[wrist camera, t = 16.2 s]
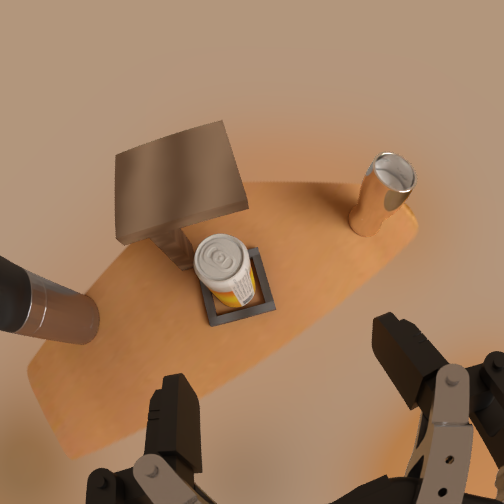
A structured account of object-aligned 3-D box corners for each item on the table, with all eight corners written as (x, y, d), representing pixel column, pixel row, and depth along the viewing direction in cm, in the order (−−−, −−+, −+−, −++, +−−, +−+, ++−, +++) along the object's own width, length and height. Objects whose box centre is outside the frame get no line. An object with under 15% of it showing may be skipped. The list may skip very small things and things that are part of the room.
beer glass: (358, 196, 47) (384, 142, 33) (389, 220, 45) (425, 172, 31) (338, 222, 46) (362, 169, 32) (370, 247, 44) (406, 203, 30)
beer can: (232, 262, 44) (215, 220, 30) (263, 284, 43) (260, 250, 29) (208, 292, 43) (179, 262, 29) (239, 316, 41) (223, 297, 27)
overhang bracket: (195, 330, 41) (122, 306, 20) (176, 238, 47) (115, 155, 25) (275, 309, 41) (281, 264, 20) (248, 217, 47) (231, 117, 26)
